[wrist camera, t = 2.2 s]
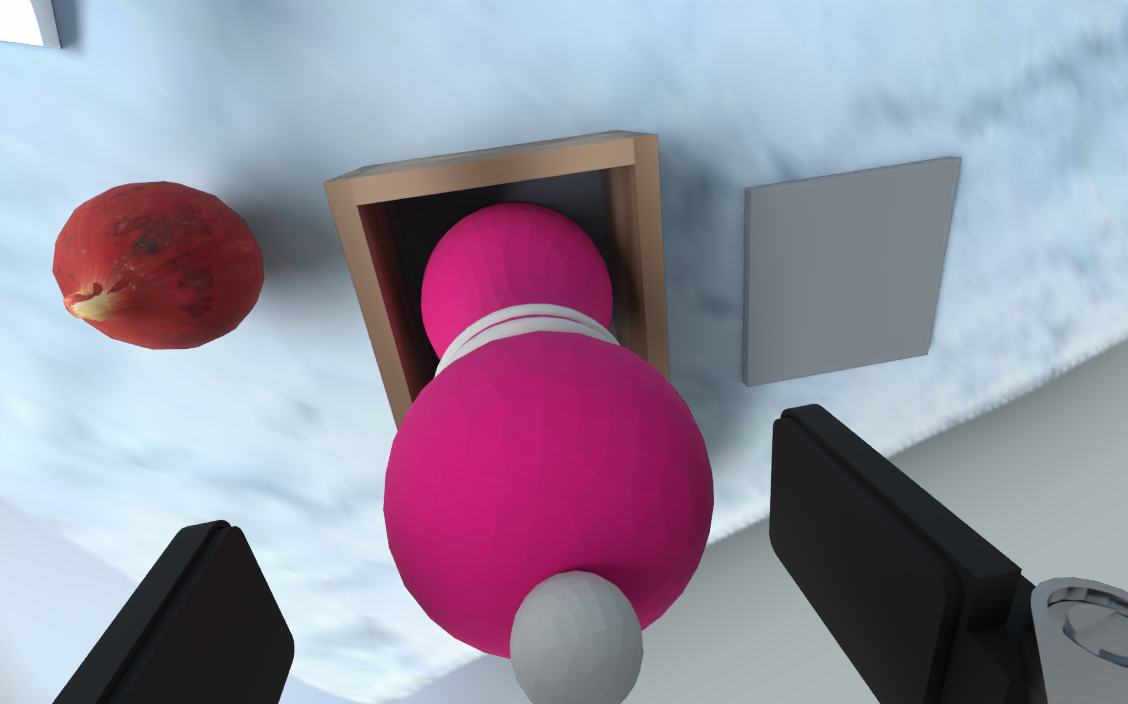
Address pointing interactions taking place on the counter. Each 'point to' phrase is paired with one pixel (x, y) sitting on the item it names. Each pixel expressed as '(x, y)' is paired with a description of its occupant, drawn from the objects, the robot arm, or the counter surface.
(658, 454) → the pepper mill
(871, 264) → the mat
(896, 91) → the counter surface
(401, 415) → the box
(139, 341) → the onion
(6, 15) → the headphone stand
